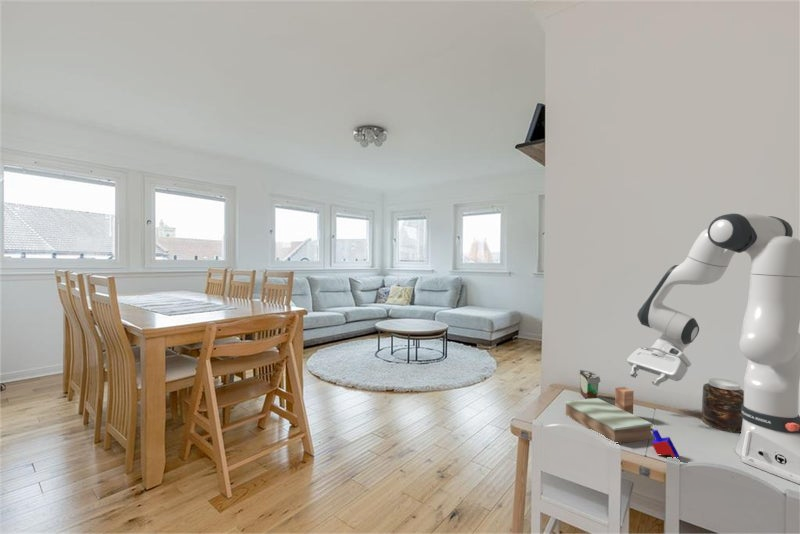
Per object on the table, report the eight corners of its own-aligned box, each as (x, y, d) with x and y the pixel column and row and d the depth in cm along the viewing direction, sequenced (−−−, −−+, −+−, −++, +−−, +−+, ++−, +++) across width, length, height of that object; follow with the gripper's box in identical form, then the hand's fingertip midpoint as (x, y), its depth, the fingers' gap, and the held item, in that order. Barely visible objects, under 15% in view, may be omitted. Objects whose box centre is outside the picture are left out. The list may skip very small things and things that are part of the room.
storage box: (652, 439, 117) (652, 423, 117) (614, 444, 114) (614, 428, 114) (597, 411, 139) (597, 398, 139) (564, 414, 136) (564, 401, 136)
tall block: (633, 418, 133) (633, 390, 133) (624, 419, 132) (624, 391, 132) (623, 413, 137) (624, 387, 137) (614, 414, 136) (615, 387, 136)
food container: (604, 404, 146) (605, 379, 146) (587, 403, 147) (588, 378, 147) (594, 393, 158) (595, 370, 158) (579, 392, 159) (579, 369, 159)
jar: (753, 428, 125) (754, 384, 125) (736, 435, 120) (737, 389, 120) (711, 415, 136) (712, 375, 136) (694, 421, 131) (695, 379, 131)
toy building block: (663, 457, 109) (649, 429, 112) (679, 455, 107) (664, 427, 109) (661, 462, 107) (646, 433, 109) (677, 460, 104) (661, 431, 107)
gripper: (636, 341, 148) (615, 366, 146) (686, 353, 129) (663, 383, 126) (644, 351, 150) (624, 377, 147) (696, 365, 130) (673, 395, 128)
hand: (642, 380), depth 137 cm, fingers open, 8 cm apart
